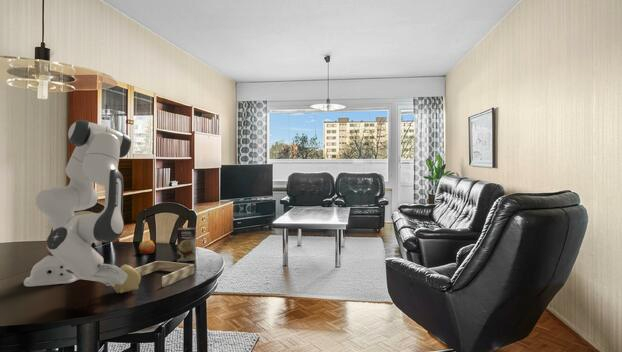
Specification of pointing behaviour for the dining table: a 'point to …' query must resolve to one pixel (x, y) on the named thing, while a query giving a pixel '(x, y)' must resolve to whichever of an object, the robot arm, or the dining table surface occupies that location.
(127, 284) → the yellow animal toy
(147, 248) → the fruit
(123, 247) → the dining table surface
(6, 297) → the dining table surface
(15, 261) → the dining table surface
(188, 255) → the coffee box
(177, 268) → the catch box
